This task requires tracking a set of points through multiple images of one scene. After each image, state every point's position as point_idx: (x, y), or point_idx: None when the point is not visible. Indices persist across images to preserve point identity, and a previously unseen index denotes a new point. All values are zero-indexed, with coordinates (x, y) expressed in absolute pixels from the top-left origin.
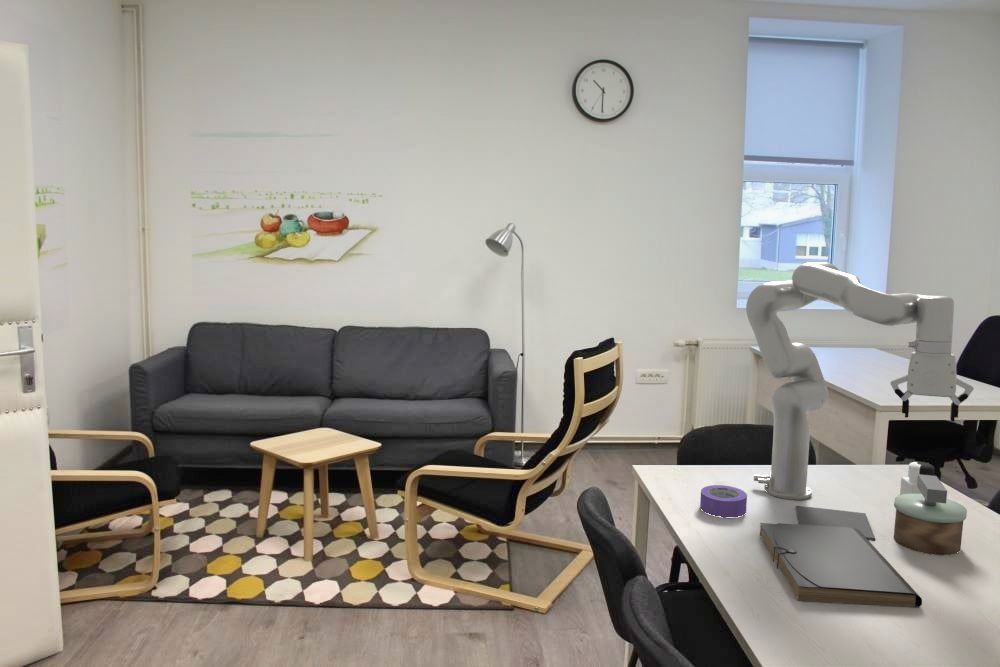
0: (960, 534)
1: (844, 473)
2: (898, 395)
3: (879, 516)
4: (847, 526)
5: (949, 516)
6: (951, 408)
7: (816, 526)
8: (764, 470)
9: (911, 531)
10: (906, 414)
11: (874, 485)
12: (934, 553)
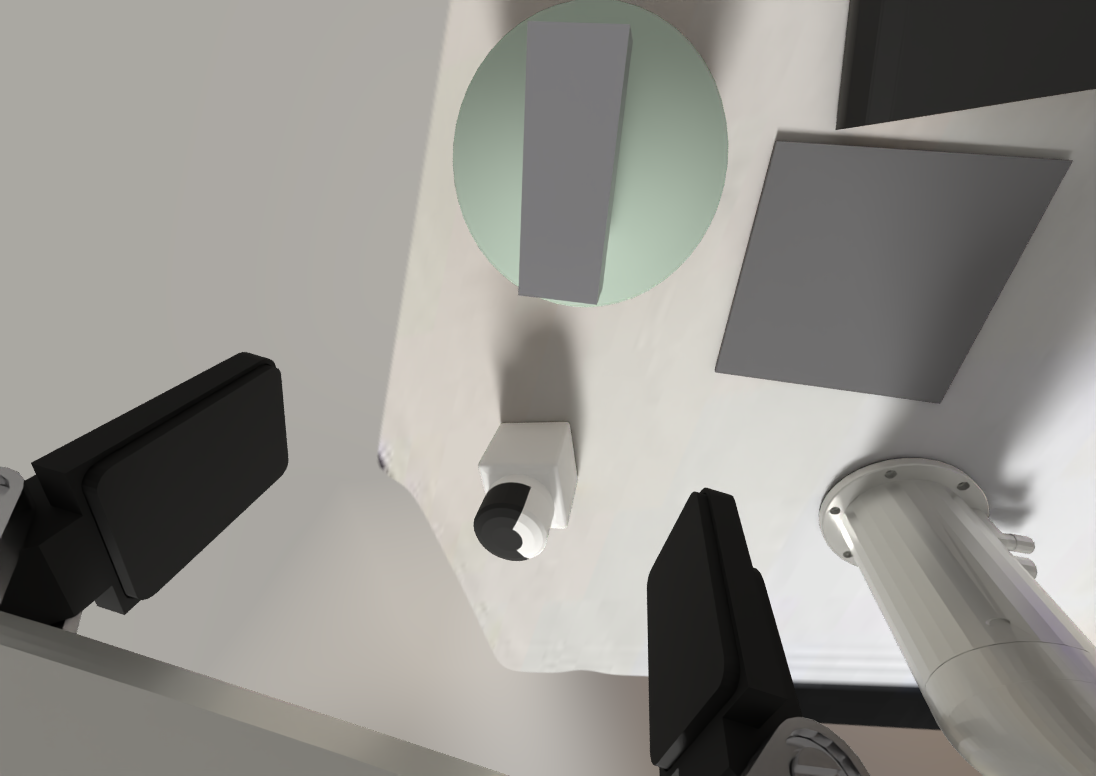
0: None
1: None
2: None
3: (672, 366)
4: (834, 239)
5: (543, 13)
6: (162, 477)
7: (1082, 76)
8: (882, 651)
9: None
10: (722, 513)
11: (606, 569)
12: None
